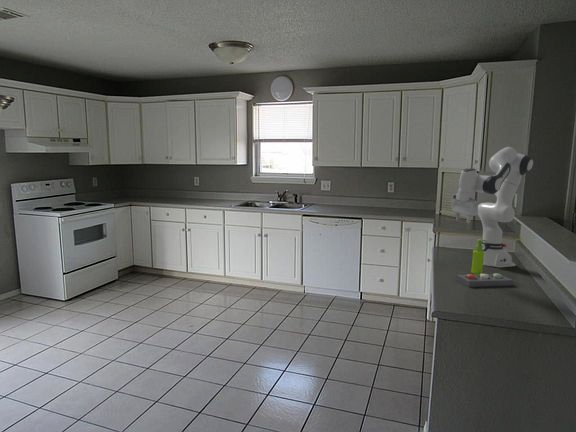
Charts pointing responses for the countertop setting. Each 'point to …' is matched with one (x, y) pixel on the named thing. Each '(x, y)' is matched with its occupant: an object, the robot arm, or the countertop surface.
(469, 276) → the button red
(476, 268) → the soap dispenser
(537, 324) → the countertop surface
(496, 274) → the button sage
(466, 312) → the countertop surface
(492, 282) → the console
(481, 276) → the button cream
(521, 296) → the countertop surface
